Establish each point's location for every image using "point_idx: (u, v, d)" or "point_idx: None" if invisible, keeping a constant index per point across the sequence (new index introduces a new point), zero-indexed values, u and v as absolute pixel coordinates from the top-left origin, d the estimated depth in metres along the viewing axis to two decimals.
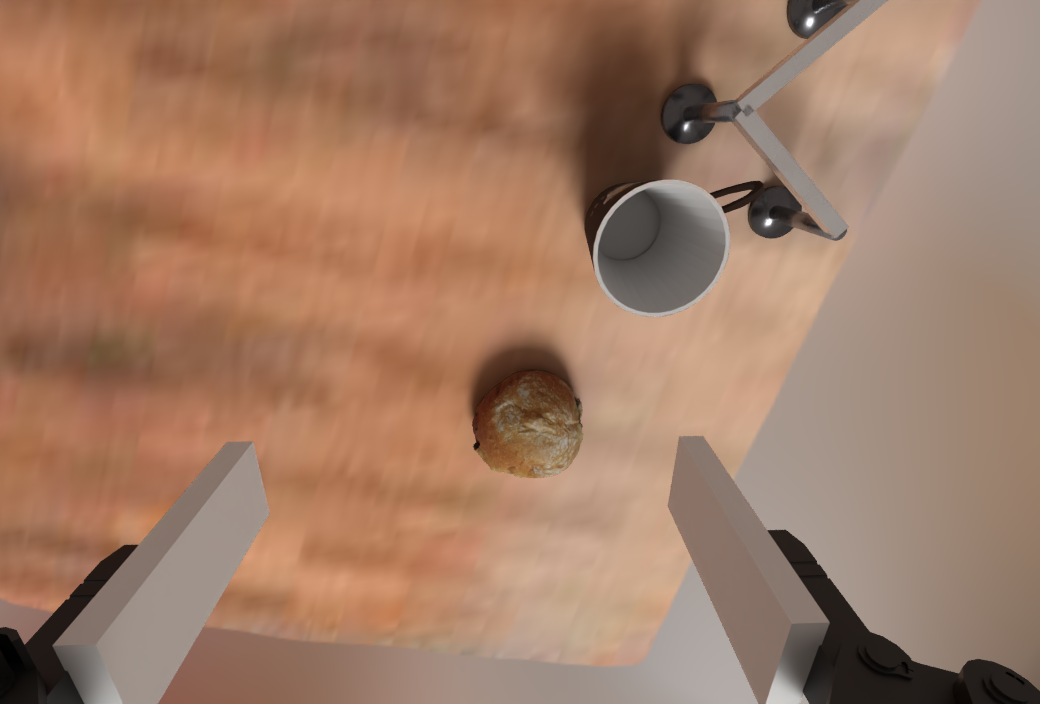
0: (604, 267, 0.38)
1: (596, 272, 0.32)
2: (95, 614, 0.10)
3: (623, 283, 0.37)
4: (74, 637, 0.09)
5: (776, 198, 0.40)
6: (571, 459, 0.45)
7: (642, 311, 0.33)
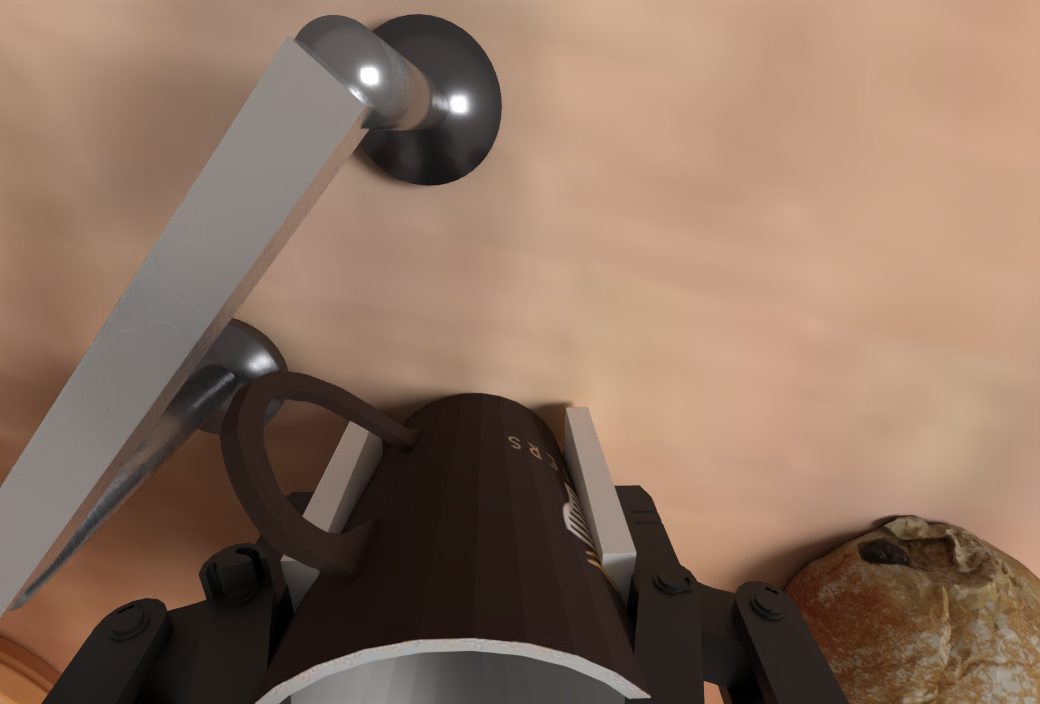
0: None
1: None
2: None
3: None
4: None
5: None
6: None
7: None
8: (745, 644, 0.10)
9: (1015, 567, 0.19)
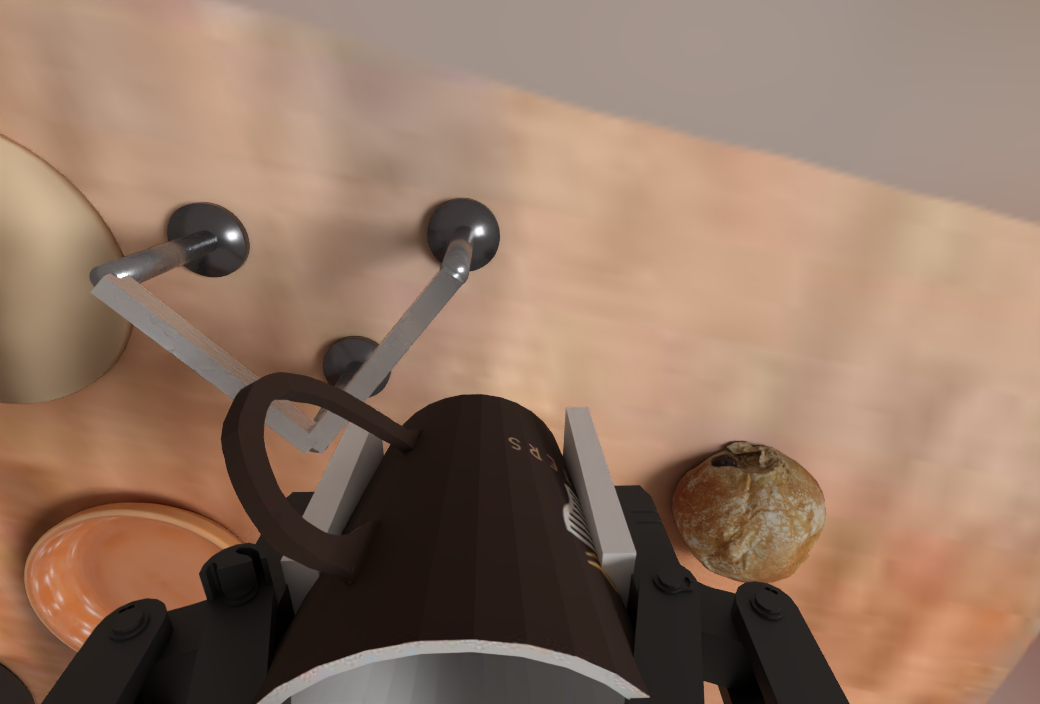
0: None
1: None
2: None
3: None
4: None
5: (443, 241, 0.28)
6: (804, 494, 0.32)
7: None
8: (745, 644, 0.10)
9: (791, 464, 0.34)
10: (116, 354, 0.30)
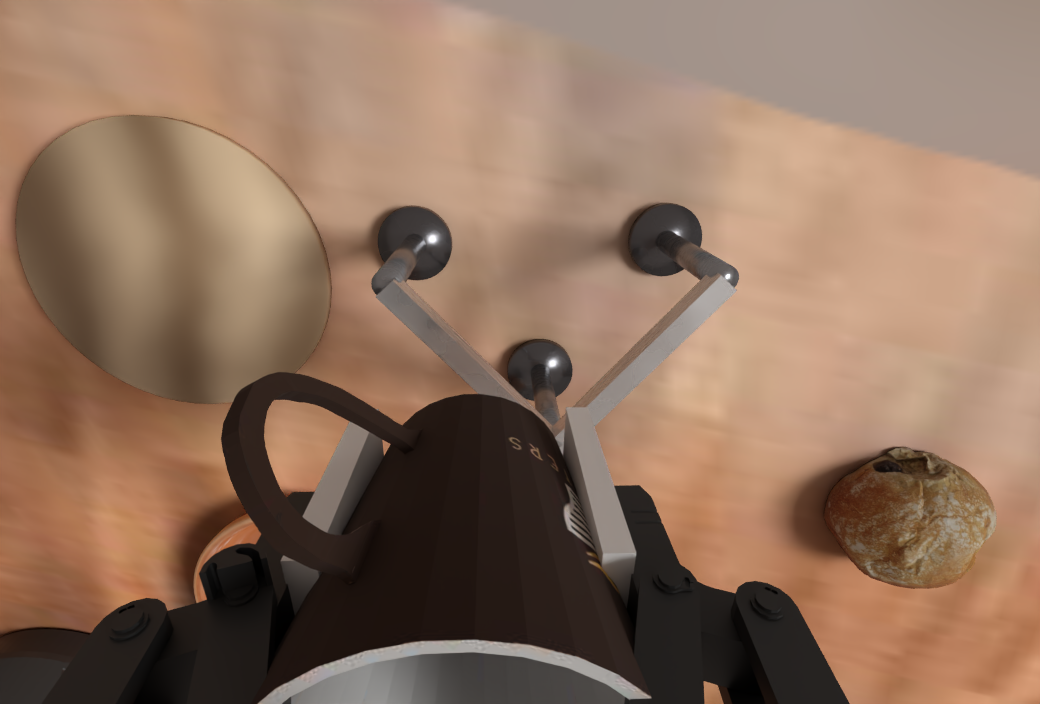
0: None
1: None
2: None
3: None
4: None
5: (646, 246, 0.29)
6: (979, 501, 0.32)
7: None
8: (745, 644, 0.10)
9: (960, 471, 0.34)
10: (309, 355, 0.30)
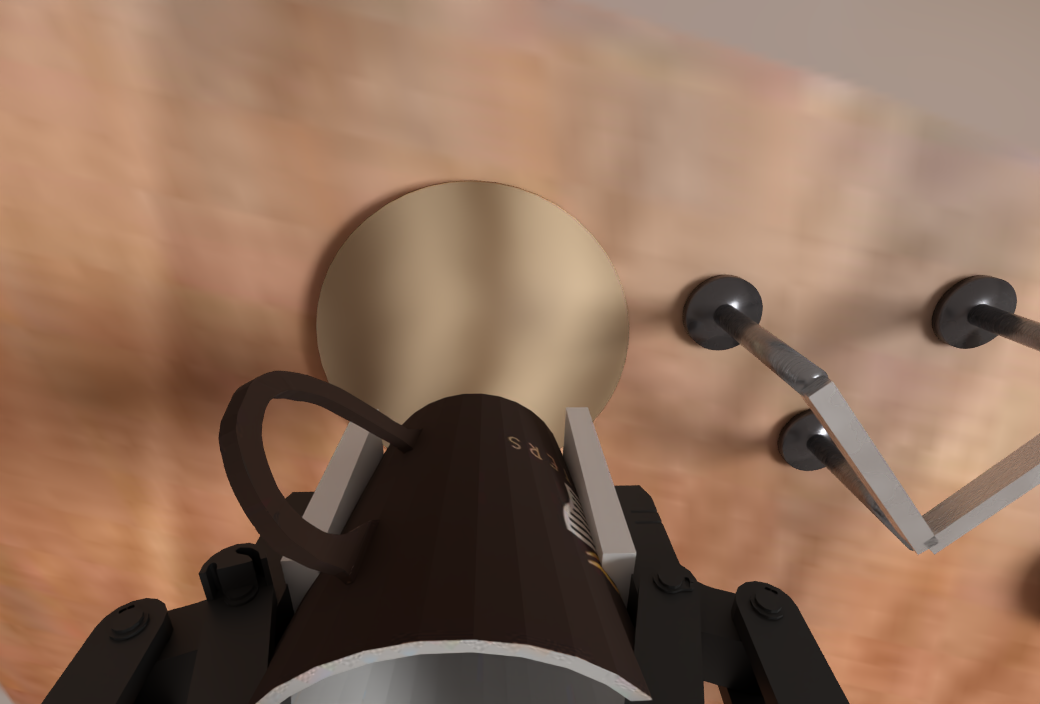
0: None
1: None
2: None
3: None
4: None
5: (957, 318, 0.27)
6: None
7: None
8: (745, 644, 0.10)
9: None
10: None
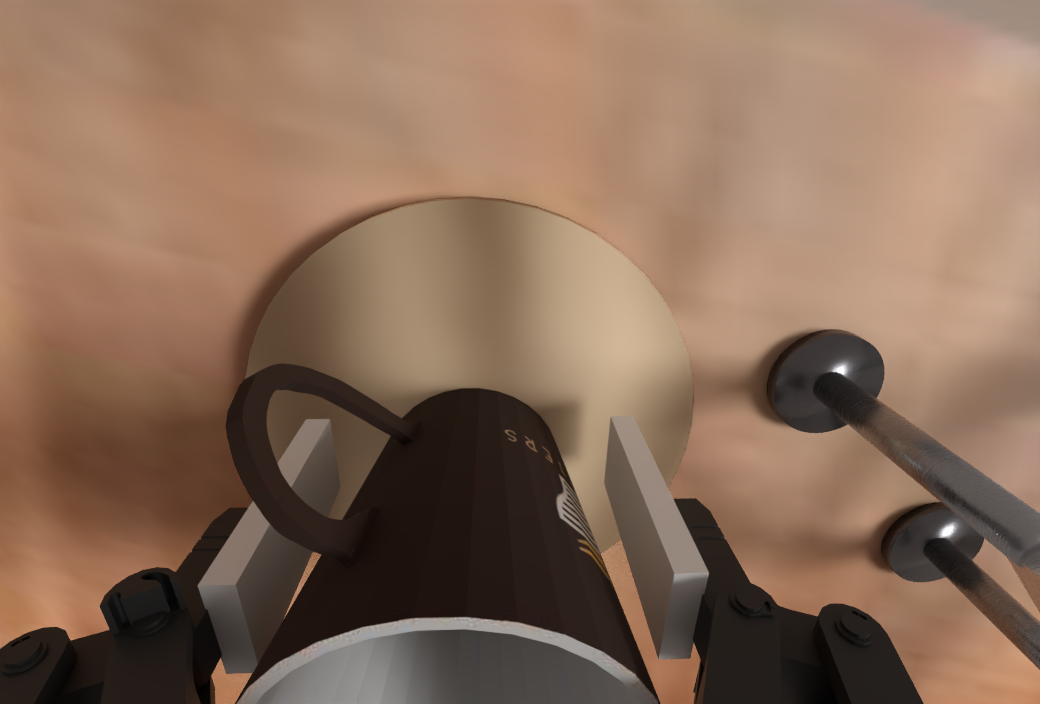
0: None
1: None
2: (227, 561, 0.11)
3: None
4: (214, 579, 0.11)
5: None
6: None
7: None
8: None
9: None
10: None
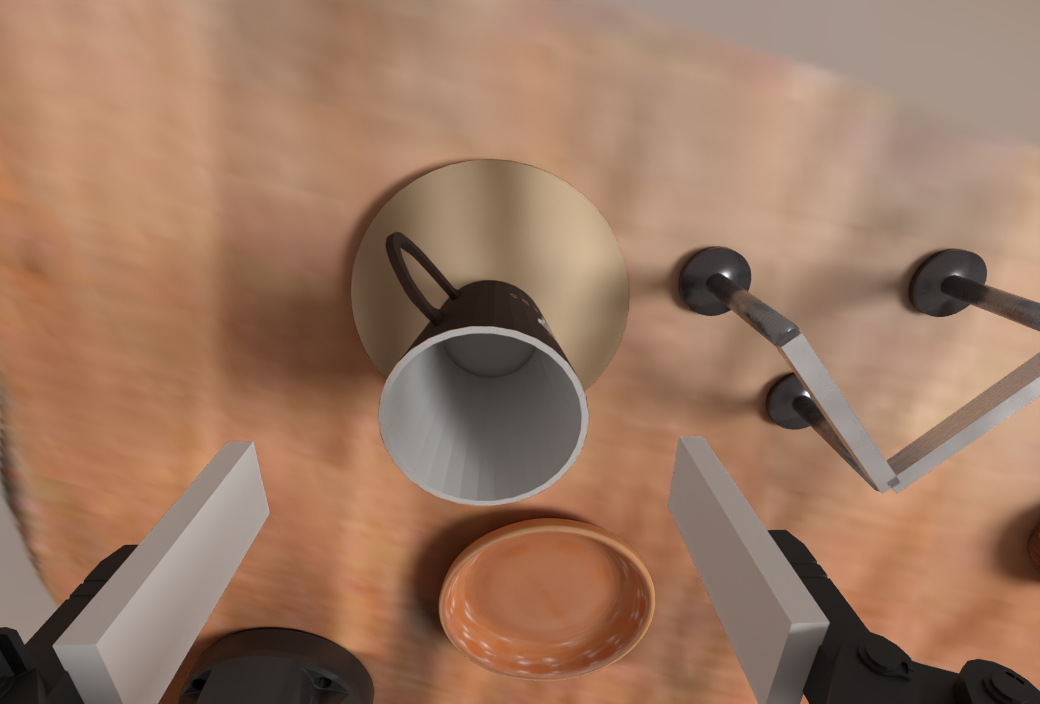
0: (533, 405, 0.27)
1: (514, 500, 0.23)
2: (95, 614, 0.10)
3: (553, 392, 0.26)
4: (74, 637, 0.09)
5: (931, 288, 0.30)
6: None
7: (578, 440, 0.21)
8: None
9: None
10: (592, 383, 0.32)
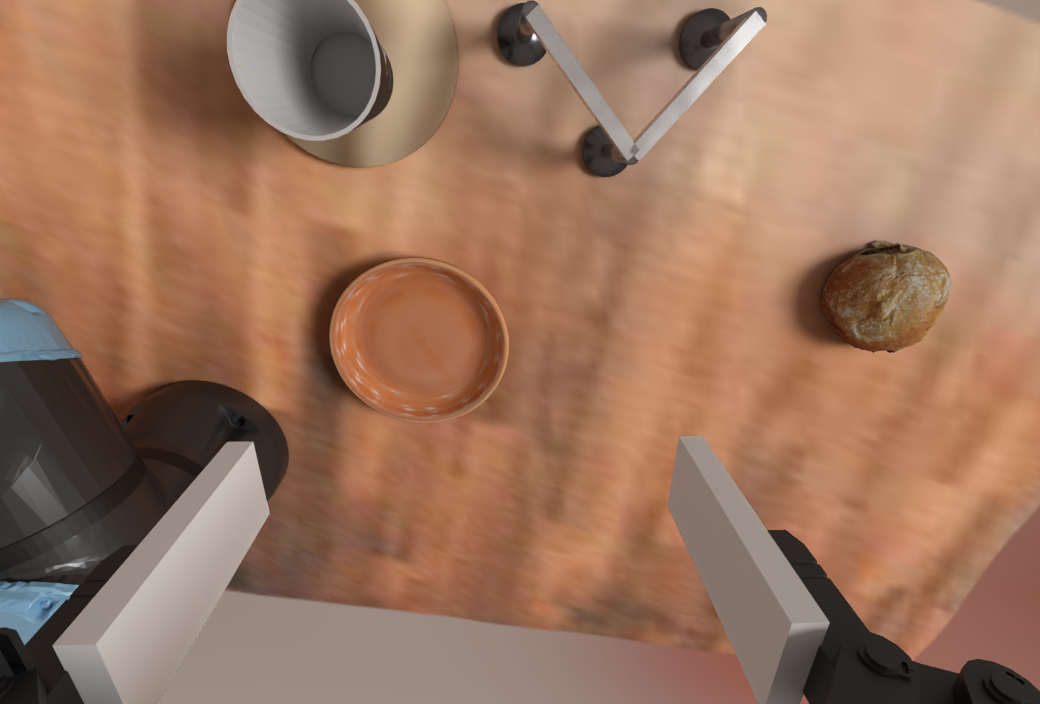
0: None
1: (336, 135, 0.31)
2: (95, 614, 0.10)
3: None
4: (74, 637, 0.09)
5: (693, 43, 0.39)
6: (938, 267, 0.43)
7: (375, 77, 0.30)
8: None
9: (925, 251, 0.44)
10: (437, 128, 0.40)
